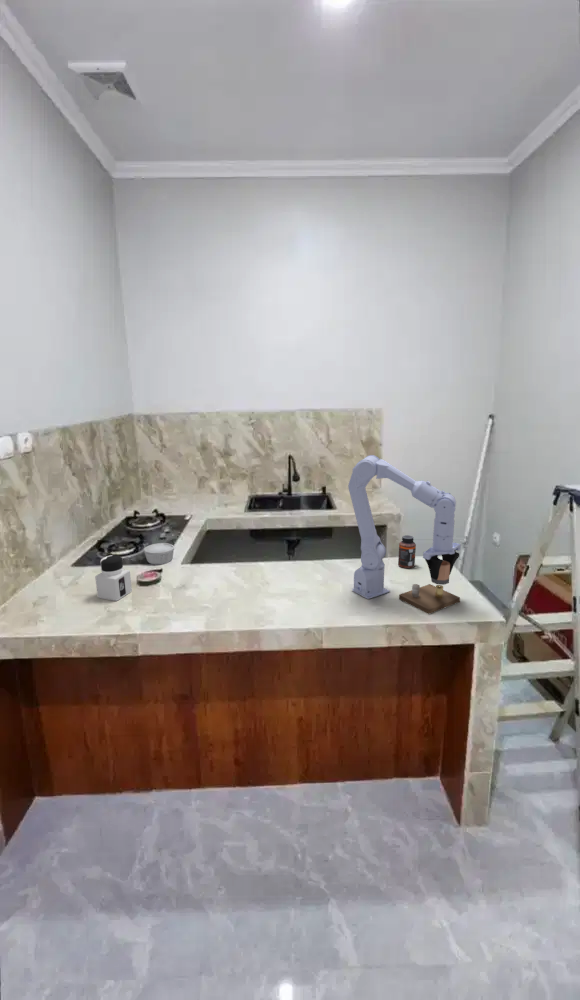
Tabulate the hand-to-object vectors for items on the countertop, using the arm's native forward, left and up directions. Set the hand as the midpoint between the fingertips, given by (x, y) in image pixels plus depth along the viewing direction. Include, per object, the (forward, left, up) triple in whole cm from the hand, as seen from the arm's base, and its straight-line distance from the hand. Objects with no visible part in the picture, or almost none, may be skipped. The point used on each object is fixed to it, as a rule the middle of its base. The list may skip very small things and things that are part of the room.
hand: (440, 576), depth 145 cm
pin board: (-2, +2, -8) cm, 9 cm away
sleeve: (0, 0, -2) cm, 2 cm away
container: (-83, +62, -9) cm, 104 cm away
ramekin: (-61, +84, -9) cm, 104 cm away
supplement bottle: (+13, +26, -8) cm, 30 cm away
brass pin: (0, 0, -8) cm, 8 cm away
